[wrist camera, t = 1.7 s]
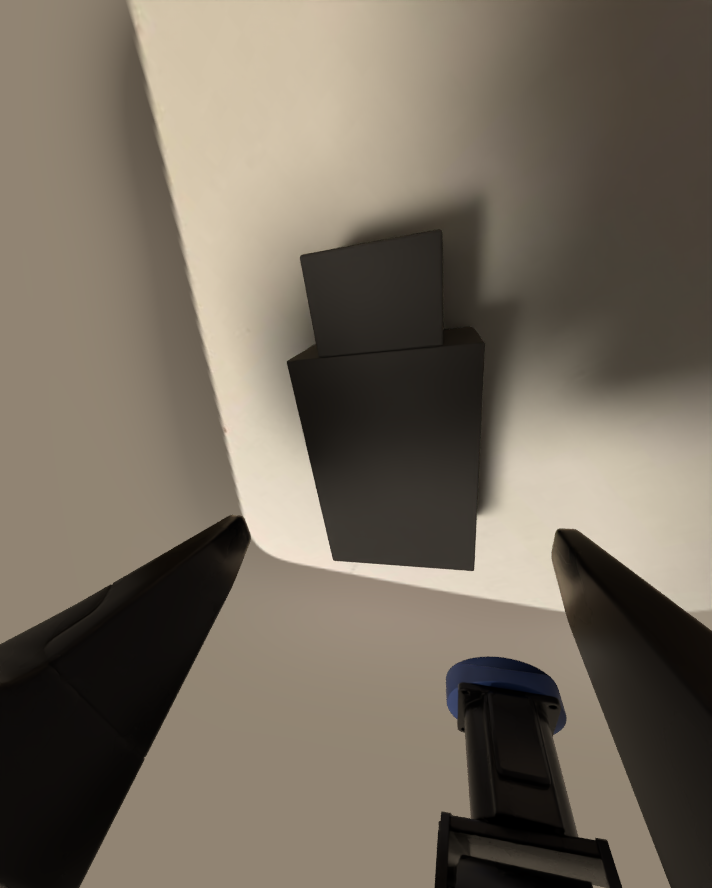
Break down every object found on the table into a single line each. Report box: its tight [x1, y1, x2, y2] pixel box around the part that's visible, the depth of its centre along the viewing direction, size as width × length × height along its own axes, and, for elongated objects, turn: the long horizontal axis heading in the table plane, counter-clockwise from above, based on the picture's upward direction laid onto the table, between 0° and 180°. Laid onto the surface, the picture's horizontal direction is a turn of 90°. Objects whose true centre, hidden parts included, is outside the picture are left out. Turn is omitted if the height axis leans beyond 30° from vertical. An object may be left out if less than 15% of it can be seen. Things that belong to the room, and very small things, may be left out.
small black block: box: [287, 229, 485, 571], centre depth 12 cm, size 6×12×3 cm, turn 8°
